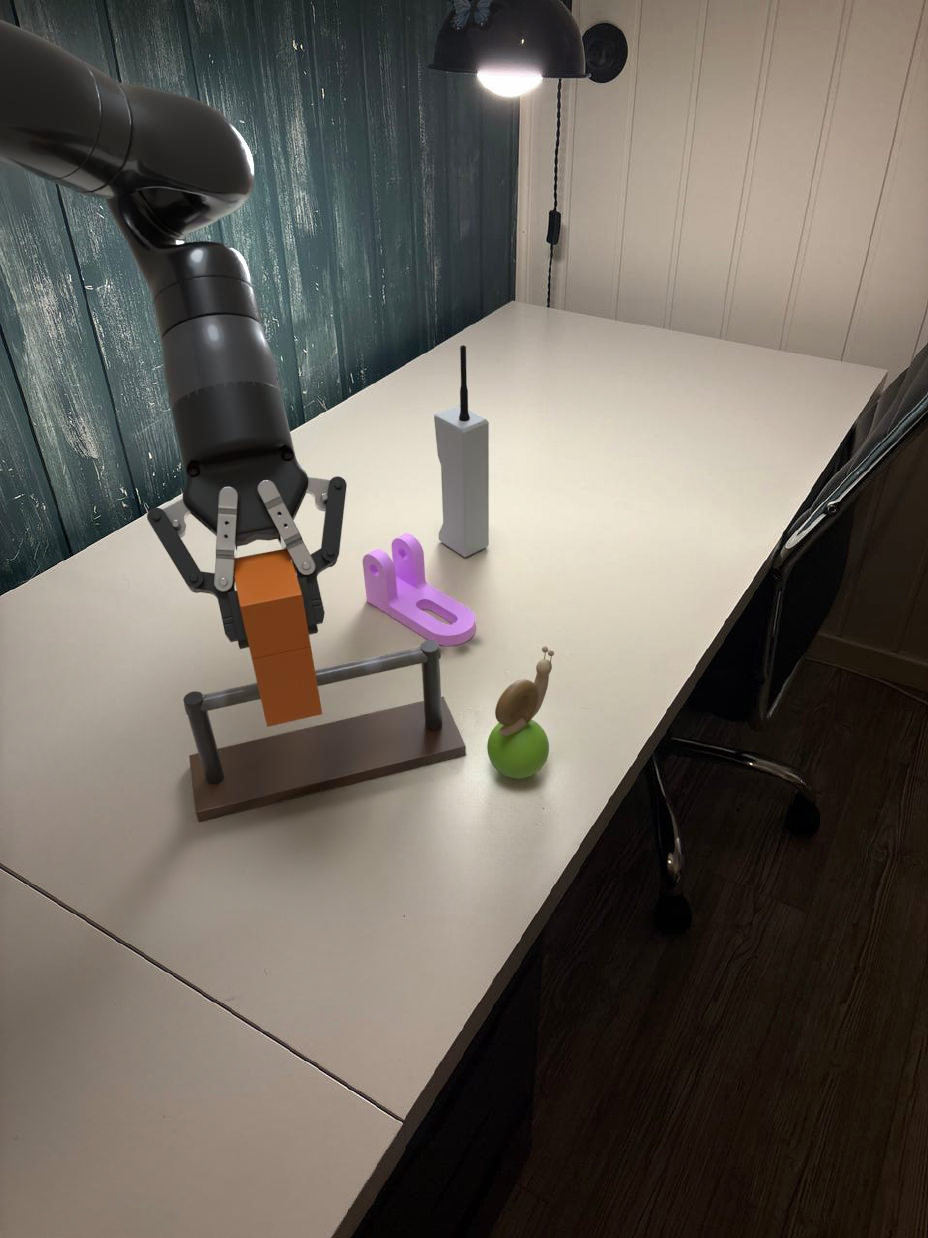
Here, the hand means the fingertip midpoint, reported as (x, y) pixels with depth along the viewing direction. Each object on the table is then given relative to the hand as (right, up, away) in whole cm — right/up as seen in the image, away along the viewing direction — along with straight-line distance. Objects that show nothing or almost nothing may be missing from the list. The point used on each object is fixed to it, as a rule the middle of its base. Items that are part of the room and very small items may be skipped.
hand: (279, 638), depth 62 cm
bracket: (+8, +2, +38) cm, 39 cm away
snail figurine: (+18, -12, +21) cm, 30 cm away
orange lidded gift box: (0, -4, +6) cm, 7 cm away
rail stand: (0, -12, +21) cm, 24 cm away
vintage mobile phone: (+12, +10, +49) cm, 51 cm away
